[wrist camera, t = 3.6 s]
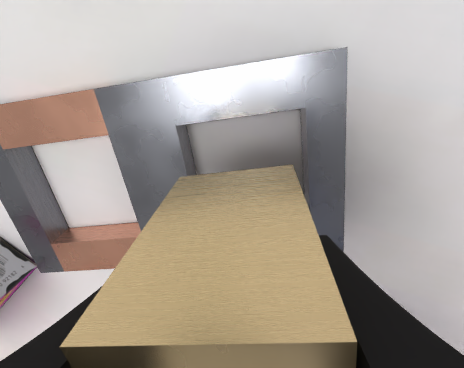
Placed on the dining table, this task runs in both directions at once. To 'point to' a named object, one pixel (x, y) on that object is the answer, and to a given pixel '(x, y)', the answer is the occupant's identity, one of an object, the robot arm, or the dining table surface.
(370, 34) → the dining table surface
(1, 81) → the dining table surface
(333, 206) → the grey flat frame piece
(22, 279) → the candy bar box
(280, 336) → the light brown rectangular block
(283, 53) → the dining table surface
